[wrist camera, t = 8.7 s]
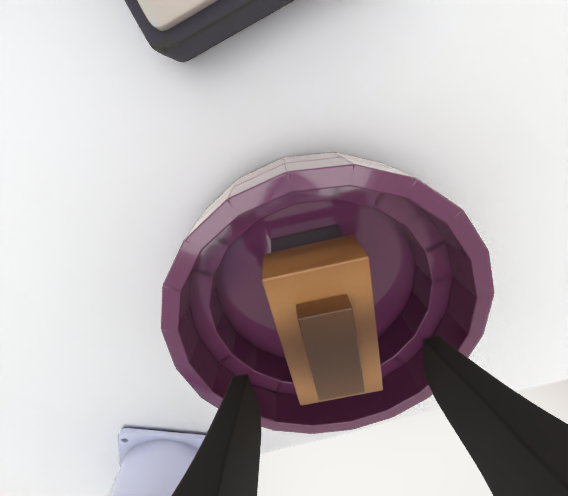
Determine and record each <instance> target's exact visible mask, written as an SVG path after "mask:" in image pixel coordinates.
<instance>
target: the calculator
mask: <svg viewBox="0 0 568 496" xmlns="http://www.w3.org/2000/svg"><path fill="white" fill-rule="evenodd" d="M292 1H294V0H125V2H126V4H127V5H128V7H129V9H130V11H131V13H132V14H133V16H134V18H135V20H136V21H137V23H138V25H139V27H140V29H141V30H142V32H143V34H144V36H145V37H146V39H147V41H148V42H149V44H150V45H151V47H152V48H153V49H154V50H156V51H157V52H159V53H161V54H163V55H165V56H168V57H170V58H172V59H175V60H177V61H180V62H185V61H188V60H190V59H192V58H193V57H195V56H197V55H199V54H200V53H202V52H204V51H206V50H208V49H209V48H211V47H213V46H215V45H216V44H218V43H220V42H222V41H223V40H225V39H227V38H229V37H230V36H232V35H234V34H236V33H237V32H239V31H241V30H243V29H244V28H246V27H248V26H250V25H252V24H253V23H255V22H257V21H259V20H260V19H262V18H264V17H266V16H267V15H269V14H271V13H273V12H274V11H276V10H278V9H280V8H281V7H283V6H285V5H287V4H288V3H290V2H292Z"/></svg>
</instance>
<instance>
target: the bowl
mask: <svg viewBox="0 0 568 496" xmlns="http://www.w3.org/2000/svg"><path fill="white" fill-rule="evenodd" d="M335 225H338V226H339V228H340V229H341V231H342V233H343V234H344V236H347V235H354V236H355V238H356V239H357V241H358V242H359V244H360V245H361V247H362V248H363V249H364V251H365V252H366V254H367V255H368V257H369V263H370V272H371V281H372V291H373V300H374V309H375V319H376V328H377V337H378V347H379V356H380V365H381V374H382V384H383V390H381V391H376V392H370V393H365V394H360V395H354V396H349V397H344V398H338V399H333V400H328V401H323V402H317V403H312V404H307V405H300V403H299V400H298V397H297V393H296V390H295V387H294V384H293V380H292V377H291V374H290V371H289V367H288V364H287V361H286V358H285V354H284V351H283V348H282V345H281V341H280V338H279V335H278V332H277V328H276V325H275V322H274V319H273V315H272V312H271V309H270V306H269V302H268V299H267V296H266V293H265V289H264V286H263V283H262V269H263V255H264V254H267V253H271V240H273V239H277V238H281V237H286V236H290V235H295V234H299V233H304V232H308V231H312V230H317V229H321V228H326V227H330V226H335ZM493 297H494V287H493V279H492V271H491V264H490V256H489V251H488V249H487V247H486V245H485V244H484V242H483V241H482V239H481V237H480V236H479V234H478V233H477V231H476V230H475V228H474V226H473V225H472V223H471V222H470V220H469V218H468V217H467V215H466V214H465V212H464V210H462V209H461V208H460V207H459V206H457V205H456V204H454V203H453V202H451V201H450V200H448V199H447V198H445V197H444V196H442V195H441V194H439V193H438V192H437V191H435V190H434V189H432V188H431V187H429V186H428V185H426V184H425V183H423V182H422V181H420V180H419V179H417V178H415V177H413V176H410V175H408V174H406V173H403V172H401V171H399V170H396V169H394V168H391V167H389V166H387V165H384V164H382V163H380V162H375V161H371V160H367V159H362V158H358V157H354V156H349V155H345V154H340V153H336V152H328V153H319V154H310V155H301V156H292V157H284V158H281V159H279V160H277V161H274V162H272V163H270V164H268V165H266V166H264V167H262V168H259V169H257V170H255V171H253V172H251V173H249V174H247V175H244V176H242V177H240V178H239V179H237V180H236V181H235V182H234V183H233V184H232V185H231V186H230V187H229V188H228V189H227V190H226V191H225V192H224V193H222V194H221V195H220V196H219V197H218V198H217V199H216V200H215V201H214V202H213V203H212V204H211V205H210V206H209V207H208V208H207V209H206V210H205V211H204V213H203V214H202V215H201V217H200V218H199V220H198V221H197V223H196V224H195V225H194V227H193V228H192V230H191V231H190V232H189V234H188V235H187V237H186V238H185V239H184V241H183V243H182V245H181V247H180V249H179V252H178V254H177V256H176V258H175V260H174V262H173V264H172V266H171V269H170V271H169V273H168V275H167V277H166V279H165V281H164V283H163V288H162V313H161V330H162V333H163V336H164V339H165V341H166V344H167V347H168V349H169V352H170V355H171V358H172V360H173V363H174V366H175V367H176V369H177V370H178V371H179V372H180V374H181V375H182V376H183V377H184V378H185V379H186V381H187V382H188V383H189V384H190V385H191V386H192V388H193V389H194V390H195V391H196V392H197V393H198V394H199V396H201V398H203V399H204V400H206V401H207V402H209V403H211V404H212V405H214V406H215V407H217V408H219V407H220V405H221V402H222V400H223V398H224V396H225V393H226V391H227V389H228V386H229V384H230V381H231V379H232V378H233V377H234V376H239V375H244V374H248V376H249V379H250V381H251V384H252V386H253V389H254V391H255V394H256V396H257V399H258V401H259V404H260V410H261V427H265V428H268V429H272V430H275V431H286V432H297V433H307V434H315V433H325V432H334V431H344V430H352V429H356V428H360V427H363V426H366V425H369V424H373V423H376V422H379V421H382V420H386V419H389V418H392V417H394V416H396V415H398V414H400V413H402V412H403V411H405V410H407V409H409V408H411V407H413V406H414V405H416V404H418V403H420V402H422V401H424V400H425V399H427V398H428V397H430V396H431V395H433V393H432V391H431V389H430V387H429V385H428V383H427V381H426V379H425V376H424V372H423V339H424V338H429V337H434V336H440V337H441V338H443V339H444V340H445V341H446V342H448V343H449V344H450V345H452V346H453V347H454V348H455V349H457V350H458V351H459V352H461V353H462V354H463V355H465V356H466V357H467V358H468V357H469V356H470V354H471V353H472V351H473V350H474V348H475V347H476V345H477V344H478V342H479V341H480V339H481V338H482V336H483V334H484V331H485V327H486V323H487V319H488V316H489V312H490V308H491V304H492V301H493Z"/></svg>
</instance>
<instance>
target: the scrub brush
mask: <svg viewBox="0 0 568 496" xmlns="http://www.w3.org/2000/svg"><path fill="white" fill-rule="evenodd" d="M262 283H263V286H264V289H265V293H266V296H267V299H268V302H269V306H270V309H271V312H272V315H273V319H274V322H275V325H276V328H277V332H278V335H279V338H280V341H281V345H282V348H283V351H284V354H285V358H286V361H287V364H288V367H289V371H290V374H291V377H292V380H293V384H294V387H295V390H296V393H297V397H298V400H299V403H300V405H307V404H312V403H317V402H323V401H328V400H333V399H338V398H344V397H349V396H354V395H360V394H365V393H370V392H376V391H381V390H383V384H382V374H381V365H380V356H379V347H378V337H377V328H376V319H375V309H374V300H373V291H372V281H371V272H370V263H369V257H368V255H367V254H366V252H365V251H364V249H363V248H362V247H361V245H360V244H359V242H358V241H357V239H356V238H355V236H354V235H347V236H344V234H343V233H342V231H341V229H340V228H339V226H338V225H335V226H330V227H326V228H321V229H317V230H312V231H308V232H304V233H299V234H295V235H290V236H286V237H281V238H277V239H273V240H271V253H267V254H264V255H263V269H262Z"/></svg>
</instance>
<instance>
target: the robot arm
mask: <svg viewBox="0 0 568 496" xmlns="http://www.w3.org/2000/svg"><path fill="white" fill-rule="evenodd" d="M423 372H424V376H425V379H426V381H427V383H428V385H429V387H430V389H431V391H432V393H433V395H434V397H435V399H436V401H437V403H438V404H439V406H440V408H441V409H442V411H443V412H444V414H445V416H446V417H447V419H448V420H449V422H450V424H451V425H452V427H453V428H454V430H455V432H456V433H457V435H458V436H459V438H460V440H461V441H462V443H463V444H464V446H465V447H466V449H467V451H468V452H469V454H470V455H471V457H472V459H473V460H474V462H475V463H476V465H477V467H478V469H479V470H480V472H481V474H482V475H483V477H484V479H485V481H486V483H487V485H488V486H489V488H490V490H491V492H492V494H493V496H568V424H566V423H565V422H563V421H561V420H560V419H558V418H556V417H555V416H553V415H551V414H549V413H548V412H546V411H545V410H543V409H541V408H540V407H538V406H537V405H535V404H533V403H532V402H530V401H529V400H527V399H526V398H524V397H523V396H521V395H520V394H518V393H516V392H515V391H513V390H512V389H510V388H509V387H508V386H506V385H505V384H503V383H502V382H500V381H499V380H497V379H496V378H495V377H493V376H492V375H490V374H489V373H488V372H486V371H485V370H483V369H482V368H481V367H479V366H478V365H477V364H475V363H474V362H473V361H471V360H470V359H469V358H467V357H466V356H465V355H463V354H462V353H461V352H459V351H458V350H457V349H455V348H454V347H453V346H452V345H450V344H449V343H448V342H446V341H445V340H444V339H443V338H441V337H440V336H434V337H429V338H424V339H423ZM118 440H119V460H120V469H119V472H118V474H117V476H116V479H115V481H114V483H113V486H112V488H111V490H110V492H109V495H108V496H257V487H258V473H259V459H260V445H261V410H260V404H259V401H258V399H257V396H256V394H255V391H254V389H253V386H252V384H251V381H250V379H249V376H248V374H244V375H239V376H234V377H233V378H232V379H231V381H230V384H229V386H228V389H227V391H226V393H225V396H224V398H223V400H222V402H221V405H220V407H219V409H218V411H217V413H216V415H215V418H214V420H213V422H212V424H211V426H210V428H209V430H208V432H207V434H206V435H199V434H188V433H177V432H165V431H154V430H143V429H132V428H123V429H121V430H120V432H119V435H118Z"/></svg>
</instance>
